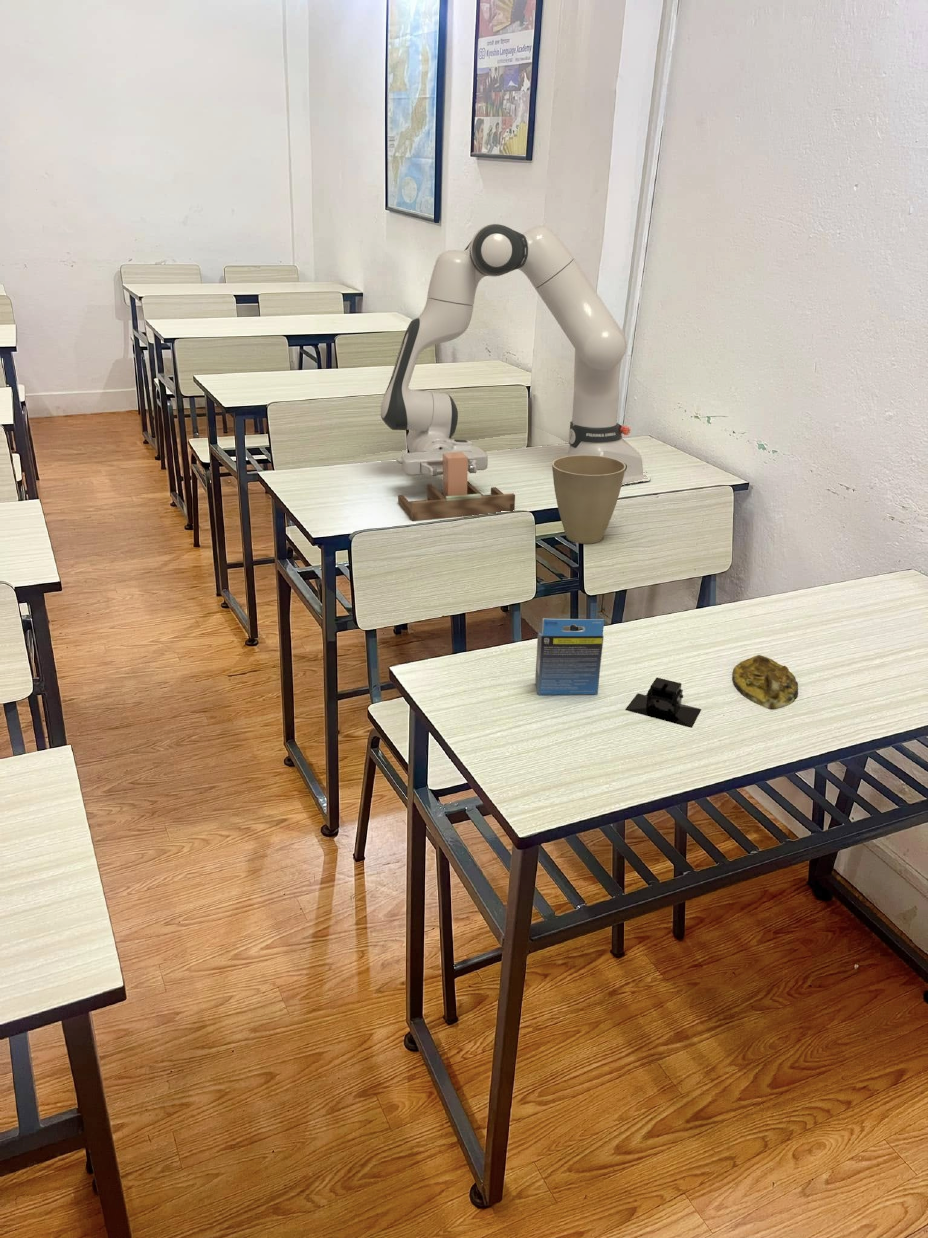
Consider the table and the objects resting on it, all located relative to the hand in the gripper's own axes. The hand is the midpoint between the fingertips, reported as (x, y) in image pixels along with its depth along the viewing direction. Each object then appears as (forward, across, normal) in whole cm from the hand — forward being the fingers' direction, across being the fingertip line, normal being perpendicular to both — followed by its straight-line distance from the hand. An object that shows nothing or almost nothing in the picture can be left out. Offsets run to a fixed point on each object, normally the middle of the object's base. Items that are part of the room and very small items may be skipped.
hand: (453, 471), depth 204 cm
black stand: (+95, +2, +9) cm, 96 cm away
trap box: (+2, 0, +8) cm, 8 cm away
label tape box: (+86, -9, +8) cm, 87 cm away
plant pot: (+28, +20, +8) cm, 35 cm away
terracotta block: (+1, 0, +8) cm, 8 cm away
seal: (+93, +20, +9) cm, 95 cm away
